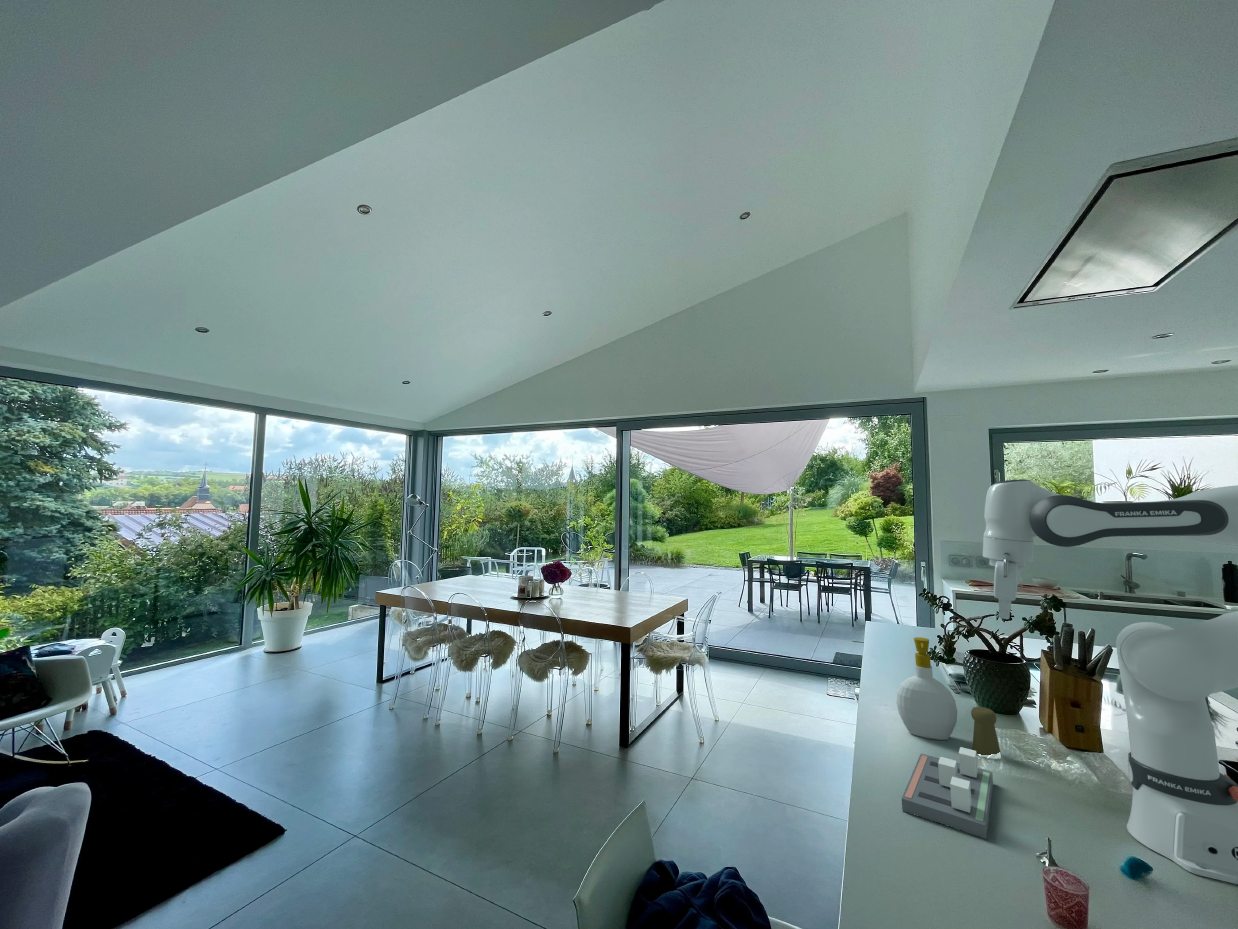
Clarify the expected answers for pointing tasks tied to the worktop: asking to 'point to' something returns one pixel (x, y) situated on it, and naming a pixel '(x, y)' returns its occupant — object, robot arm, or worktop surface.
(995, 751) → the cork
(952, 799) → the switch
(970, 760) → the switch
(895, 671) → the worktop surface
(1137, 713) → the robot arm
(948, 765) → the switch
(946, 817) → the switch board
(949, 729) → the soap bottle
